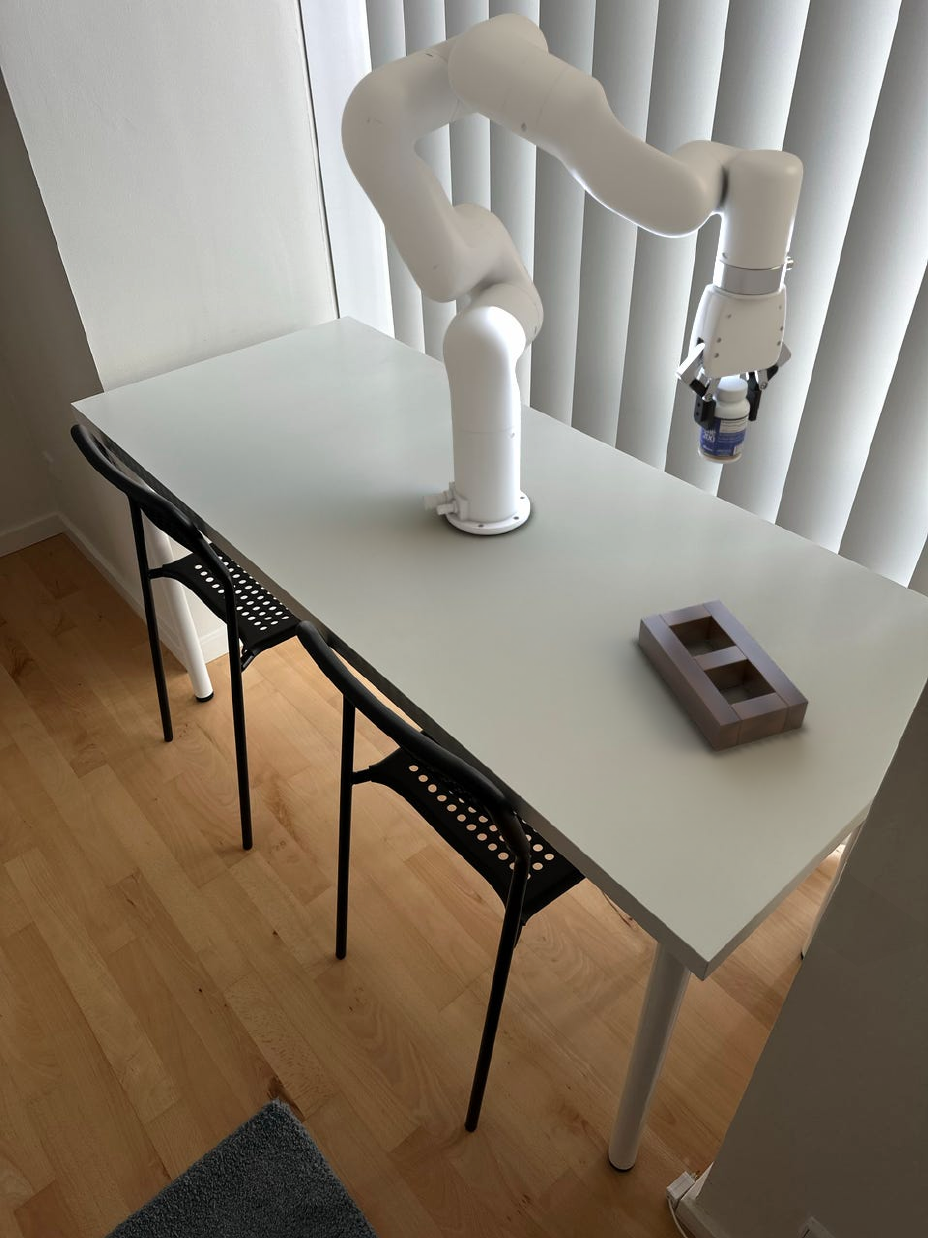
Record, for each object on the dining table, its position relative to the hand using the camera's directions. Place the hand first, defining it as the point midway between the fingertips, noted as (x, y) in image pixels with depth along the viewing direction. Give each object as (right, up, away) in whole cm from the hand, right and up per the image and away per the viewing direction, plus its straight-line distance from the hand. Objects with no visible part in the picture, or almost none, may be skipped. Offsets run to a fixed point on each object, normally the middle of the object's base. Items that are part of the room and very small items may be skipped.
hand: (724, 419), depth 117 cm
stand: (-3, -32, -5) cm, 33 cm away
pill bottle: (0, -4, +3) cm, 5 cm away
